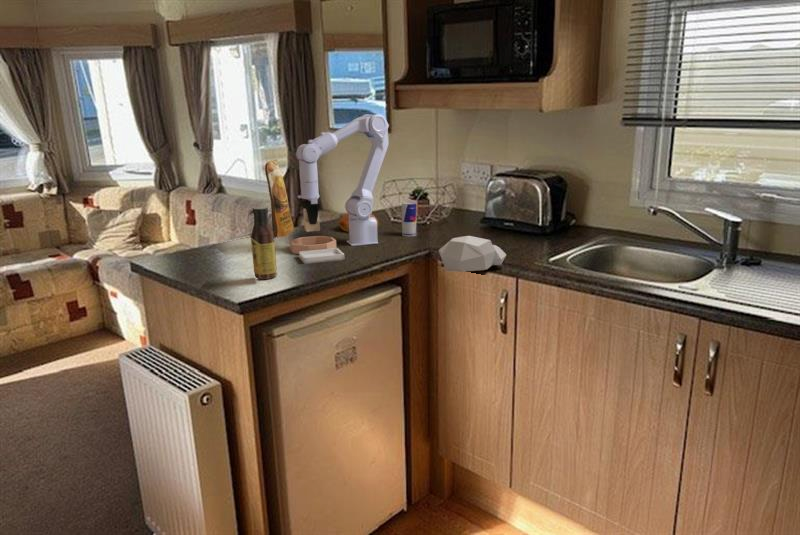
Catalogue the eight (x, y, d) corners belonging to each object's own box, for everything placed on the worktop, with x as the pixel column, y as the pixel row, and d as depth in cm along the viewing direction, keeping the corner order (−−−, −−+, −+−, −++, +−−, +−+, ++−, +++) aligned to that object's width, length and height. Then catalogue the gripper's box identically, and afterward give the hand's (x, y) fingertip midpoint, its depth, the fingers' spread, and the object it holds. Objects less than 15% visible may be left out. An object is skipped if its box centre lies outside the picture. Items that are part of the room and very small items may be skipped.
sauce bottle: (256, 275, 171) (250, 205, 166) (278, 274, 172) (273, 204, 167) (252, 281, 165) (246, 209, 160) (275, 280, 165) (270, 208, 160)
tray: (337, 253, 195) (337, 248, 195) (344, 259, 186) (344, 254, 186) (299, 257, 191) (298, 251, 191) (304, 263, 182) (303, 258, 182)
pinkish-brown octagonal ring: (330, 243, 211) (329, 234, 210) (339, 251, 197) (339, 242, 196) (288, 247, 206) (287, 238, 205) (295, 256, 193) (294, 247, 192)
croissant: (366, 226, 241) (365, 206, 239) (384, 232, 228) (383, 211, 226) (332, 230, 234) (331, 209, 232) (350, 236, 221) (349, 215, 219)
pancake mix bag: (264, 240, 218) (258, 162, 211) (281, 230, 236) (276, 158, 229) (282, 240, 217) (276, 162, 210) (298, 230, 235) (293, 158, 228)
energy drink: (415, 237, 217) (414, 204, 214) (400, 237, 218) (400, 204, 215) (418, 234, 222) (417, 202, 219) (403, 234, 223) (403, 201, 220)
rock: (437, 260, 184) (437, 229, 182) (503, 258, 183) (504, 227, 181) (439, 275, 166) (439, 241, 164) (512, 274, 166) (513, 240, 163)
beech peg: (317, 228, 203) (316, 207, 201) (320, 230, 199) (318, 209, 197) (304, 229, 201) (303, 208, 200) (306, 231, 197) (305, 210, 196)
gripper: (293, 180, 201) (296, 220, 205) (300, 184, 188) (303, 227, 192) (314, 178, 204) (316, 218, 207) (322, 183, 190) (325, 225, 194)
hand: (311, 222), depth 199 cm, fingers closed on beech peg, 4 cm apart
